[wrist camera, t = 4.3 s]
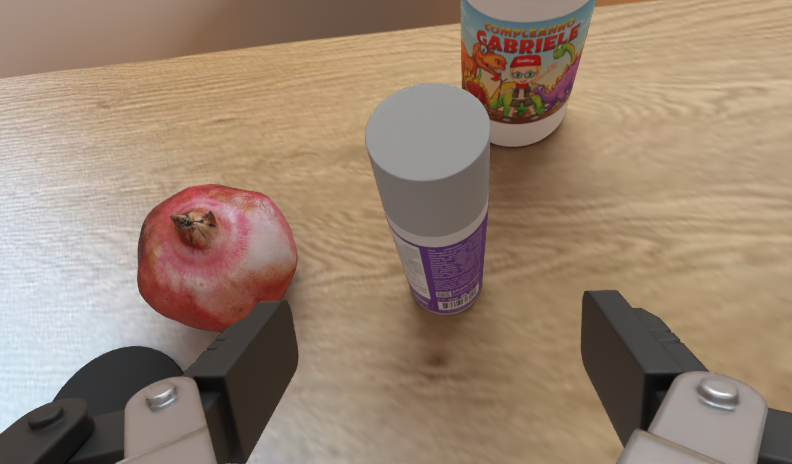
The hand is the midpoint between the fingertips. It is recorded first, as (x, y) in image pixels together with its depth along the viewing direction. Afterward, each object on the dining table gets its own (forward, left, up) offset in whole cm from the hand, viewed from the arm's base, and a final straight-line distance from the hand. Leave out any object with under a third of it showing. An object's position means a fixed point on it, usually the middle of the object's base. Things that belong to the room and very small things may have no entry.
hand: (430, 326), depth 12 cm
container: (-5, -5, -15) cm, 17 cm away
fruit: (+6, -15, -15) cm, 22 cm away
